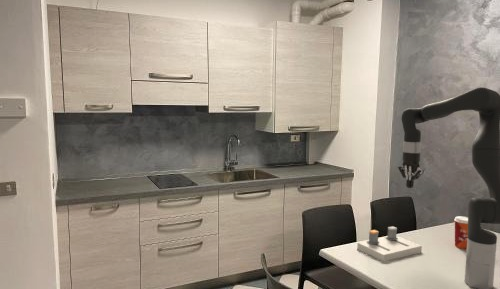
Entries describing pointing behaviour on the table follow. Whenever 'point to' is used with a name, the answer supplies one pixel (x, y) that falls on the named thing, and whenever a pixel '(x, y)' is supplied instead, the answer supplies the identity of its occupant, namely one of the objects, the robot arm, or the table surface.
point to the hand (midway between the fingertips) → (409, 187)
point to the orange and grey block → (373, 237)
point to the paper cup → (461, 232)
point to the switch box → (390, 248)
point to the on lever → (392, 233)
